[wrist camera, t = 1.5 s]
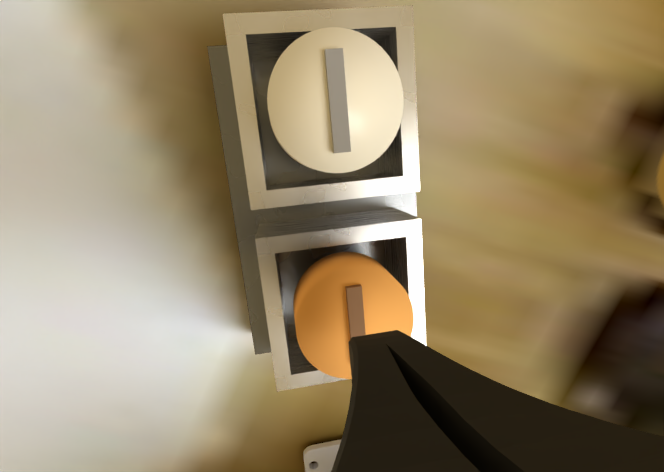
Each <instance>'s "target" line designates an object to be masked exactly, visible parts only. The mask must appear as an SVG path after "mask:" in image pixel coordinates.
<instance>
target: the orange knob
mask: <svg viewBox="0 0 664 472" xmlns="http://www.w3.org/2000/svg"><path fill="white" fill-rule="evenodd" d="M293 308H294V318H295V327H296V335H297V340H298V344H299V346H300V349H301V351H302V353H303V355H304V356H305V357H306V359H307V360H308V361H309V362H310V363H311V364H312V365H313V366H314V367H315V368H317V369H318V370H320V371H321V372H323V373H325V374H327V375H330V376H333V377H337V378H343V379H352V376H351V365H350V354H349V343H348V342H349V341H350V339H351V338H352V337H357V336H363V335H369V334H375V333H381V332H388V331H394V330H399V331H401V332H403V333H405V334H406V335H408V336H410V337H411V334H412V330H413V324H414V313H413V307H412V303H411V300H410V298H409V295H408V294H407V292H406V290H405V289H404V288H403V286H402V285H401V284H400V283H399V282H398V281H397V280H396V279H395V278H394V277H393V276H392V275H391V274H390V273H389V272H388V271H387V270H386V269H385V268H384V267H383V266H382V265H381V264H380V263H379V262H377V261H376V260H375V259H373V258H371V257H369V256H367V255H364V254H361V253H356V252H339V253H334V254H331V255H328V256H325V257H323V258H321V259H320V260H318V261H316V262H315V263H314V264H312V265H311V266H310V267H309V268H308V269H307V270H306V271H305V273H304V274H303V275H302V277H301V278H300V280H299V282H298V284H297V287H296V289H295V293H294V300H293Z"/></svg>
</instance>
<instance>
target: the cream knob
mask: <svg viewBox="0 0 664 472" xmlns="http://www.w3.org/2000/svg"><path fill="white" fill-rule="evenodd" d="M267 104H268V112H269V118H270V123H271V127H272V130H273V133H274V135H275V137H276V139H277V141H278V143H279V144H280V146H281V147H282V148H283V150H284V151H285V152H286V153H287V154H288V155H289V156H290V157H291V158H292V159H294V160H295V161H296V162H298V163H300V164H301V165H303V166H305V167H308V168H311V169H314V170H318V171H323V172H328V173H346V172H352V171H355V170H358V169H361V168H363V167H365V166H367V165H369V164H370V163H372V162H374V161H375V160H376V159H377V158H379V157H380V156H381V155H382V154H383V153H384V152H385V151H386V150H387V149H388V147H389V146H390V144H391V143H392V142H393V140H394V138H395V136H396V134H397V132H398V129H399V127H400V123H401V120H402V115H403V107H404V97H403V88H402V84H401V79H400V77H399V74H398V71H397V69H396V67H395V65H394V63H393V61H392V60H391V58H390V57H389V55H388V54H387V53H386V52H385V51H384V50H383V48H382V47H381V46H379V45H378V44H377V43H376V42H375V41H374V40H372V39H371V38H369V37H368V36H366V35H364V34H362V33H360V32H357V31H354V30H351V29H347V28H341V27H329V28H321V29H318V30H314V31H311V32H309V33H307V34H304V35H303V36H301V37H300V38H298V39H296V40H295V41H294V42H293V43H292V44H290V45H289V46H288V47H287V48H286V50H285V51H284V52H283V53H282V54H281V56H280V57H279V59H278V60H277V62H276V64H275V66H274V68H273V71H272V74H271V77H270V80H269V85H268V93H267Z"/></svg>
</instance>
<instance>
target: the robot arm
mask: <svg viewBox="0 0 664 472" xmlns="http://www.w3.org/2000/svg"><path fill="white" fill-rule="evenodd" d="M348 343H349V354H350V365H351V376H352V392H351V398H350V405H349V410H348V415H347V420H346V424H345V428H344V432H343V436H342V439H340V440H335V441H330V442H325V443H320V444H315V445H311V446H308V447H307V448H305V450H304V452H303V457H304V465H305V472H664V437H663V436H659V435H655V434H651V433H647V432H643V431H639V430H635V429H632V428H628V427H624V426H621V425H617V424H613V423H610V422H607V421H603V420H600V419H597V418H594V417H590V416H587V415H584V414H581V413H578V412H574V411H571V410H568V409H565V408H562V407H559V406H556V405H553V404H551V403H548V402H545V401H542V400H540V399H537V398H535V397H532V396H530V395H527V394H524V393H522V392H519V391H517V390H514V389H512V388H509V387H507V386H505V385H502V384H500V383H498V382H496V381H493V380H491V379H489V378H487V377H485V376H483V375H481V374H479V373H477V372H474V371H472V370H470V369H468V368H466V367H464V366H462V365H460V364H459V363H457V362H455V361H453V360H451V359H449V358H447V357H445V356H444V355H442V354H440V353H438V352H436V351H435V350H433V349H431V348H429V347H428V346H426V345H424V344H422V343H421V342H419V341H417V340H415V339H414V338H412V337H410V336H408V335H406V334H405V333H403V332H401V331H399V330H394V331H388V332H381V333H375V334H369V335H363V336H357V337H352V338H351V339H350V341H349V342H348ZM313 461H316V463H314V464H312V463H311V462H313Z"/></svg>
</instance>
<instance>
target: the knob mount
mask: <svg viewBox="0 0 664 472" xmlns="http://www.w3.org/2000/svg"><path fill="white" fill-rule="evenodd" d="M223 21H224V28H225V35H226V41H227V45H224V46H207V48H208V54H209V61H210V67H211V73H212V80H213V86H214V93H215V99H216V105H217V112H218V118H219V125H220V131H221V138H222V144H223V150H224V157H225V163H226V170H227V176H228V182H229V189H230V195H231V202H232V208H233V215H234V221H235V227H236V234H237V240H238V247H239V253H240V259H241V266H242V272H243V279H244V285H245V292H246V298H247V304H248V311H249V317H250V324H251V330H252V336H253V343H254V349H255V355H256V354H262V353H268V352H271V353H272V360H273V366H274V373H275V380H276V387H277V392H278V391H283V390H289V389H295V388H300V387H306V386H312V385H317V384H323V383H329V382H335V381H340V380H346V379H343V378H337V377H333V376H330V375H327V374H325V373H323V372H321V371H320V370H318V369H317V368H315V367H314V366H313V365H312V364H311V363H310V362H309V361H308V360H307V359H306V357H305V356H304V355H303V353H302V351H301V349H300V346H299V344H298V340H297V335H296V327H295V318H294V308H293V300H294V293H295V289H296V287H297V284H298V282H299V280H300V278H301V277H302V275H303V274H304V273H305V271H306V270H307V269H308V268H309V267H310V266H311V265H312V264H314V263H315V262H316V261H318V260H320V259H321V258H323V257H325V256H328V255H331V254H334V253H339V252H356V253H361V254H364V255H367V256H369V257H371V258H373V259H375V260H376V261H377V262H379V263H380V264H381V265H382V266H383V267H384V268H385V269H386V270H387V271H388V272H389V273H390V274H391V275H392V276H393V277H394V278H395V279H396V280H397V281H398V282H399V283H400V284H401V285H402V286H403V288H404V289H405V290H406V292H407V294H408V295H409V298H410V300H411V303H412V307H413V313H414V324H413V330H412V334H411V337H412V338H414V339H415V340H417V341H419V342H421V343H422V344H424V345H426V327H425V302H424V276H423V250H422V225H421V218H418V217H417V206H416V192H418V191H420V174H419V148H418V122H417V97H416V71H415V46H414V20H413V5H409V6H386V7H363V8H341V9H318V10H295V11H272V12H249V13H227V14H223ZM329 27H341V28H347V29H351V30H354V31H357V32H360V33H362V34H364V35H366V36H368V37H369V38H371V39H372V40H374V41H375V42H376V43H377V44H378V45H379V46H381V47H382V48H383V50H384V51H385V52H386V53H387V54H388V55H389V57H390V58H391V60H392V61H393V63H394V65H395V67H396V69H397V71H398V74H399V77H400V79H401V84H402V88H403V97H404V107H403V115H402V120H401V123H400V127H399V129H398V132H397V134H396V136H395V138H394V140H393V142H392V143H391V144H390V146H389V147H388V149H387V150H386V151H385V152H384V153H383V154H382V155H381V156H380V157H379V158H377V159H376V160H375V161H374V162H372V163H370V164H369V165H367V166H365V167H363V168H361V169H358V170H355V171H352V172H346V173H328V172H323V171H318V170H314V169H311V168H308V167H305V166H303V165H301V164H300V163H298V162H296V161H295V160H294V159H292V158H291V157H290V156H289V155H288V154H287V153H286V152H285V151H284V150H283V148H282V147H281V146H280V144H279V143H278V141H277V139H276V137H275V135H274V133H273V130H272V127H271V123H270V118H269V112H268V104H267V93H268V85H269V80H270V77H271V74H272V71H273V68H274V66H275V64H276V62H277V60H278V59H279V57H280V56H281V54H282V53H283V52H284V51H285V50H286V48H287V47H288V46H289V45H290V44H292V43H293V42H294V41H295V40H296V39H298V38H300V37H301V36H303V35H304V34H307V33H309V32H311V31H314V30H318V29H321V28H329Z"/></svg>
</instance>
